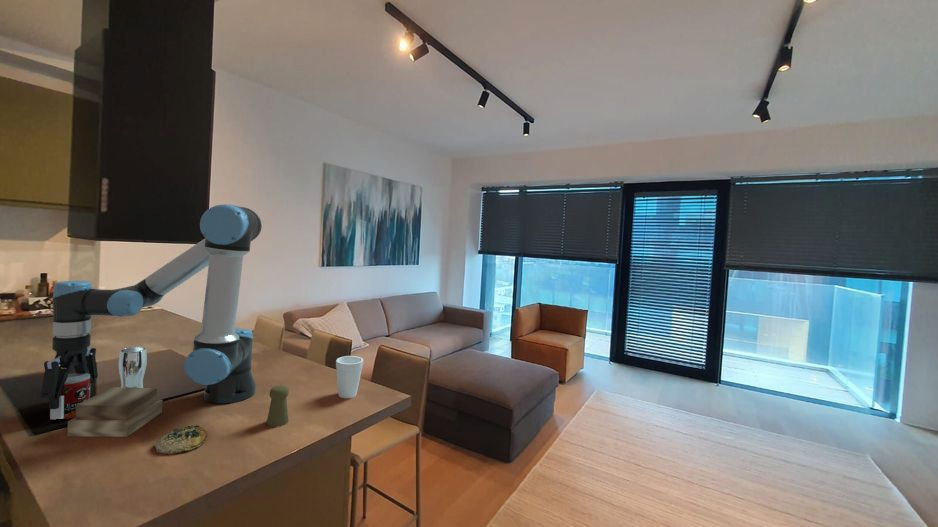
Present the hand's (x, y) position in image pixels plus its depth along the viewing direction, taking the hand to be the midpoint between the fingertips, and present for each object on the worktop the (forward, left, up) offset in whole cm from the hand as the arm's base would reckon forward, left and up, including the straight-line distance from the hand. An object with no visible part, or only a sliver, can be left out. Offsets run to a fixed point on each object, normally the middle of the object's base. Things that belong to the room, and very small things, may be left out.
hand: (70, 411), depth 109 cm
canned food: (0, 0, -1) cm, 1 cm away
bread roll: (-38, +15, -1) cm, 41 cm away
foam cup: (-75, -18, -1) cm, 77 cm away
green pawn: (-58, +3, -1) cm, 58 cm away
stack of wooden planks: (-16, +5, -1) cm, 17 cm away
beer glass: (-6, -15, -1) cm, 16 cm away
